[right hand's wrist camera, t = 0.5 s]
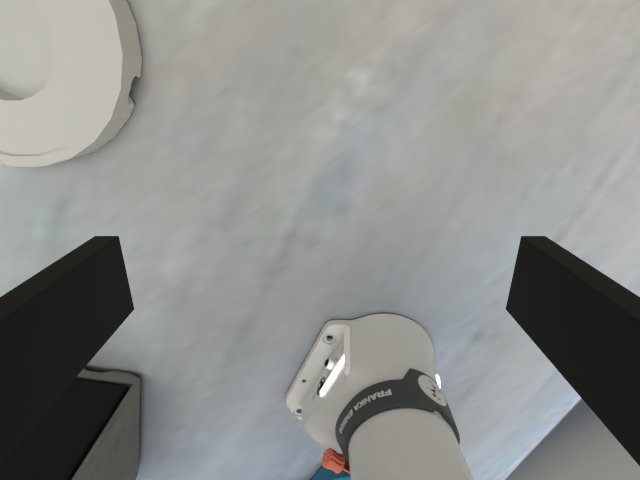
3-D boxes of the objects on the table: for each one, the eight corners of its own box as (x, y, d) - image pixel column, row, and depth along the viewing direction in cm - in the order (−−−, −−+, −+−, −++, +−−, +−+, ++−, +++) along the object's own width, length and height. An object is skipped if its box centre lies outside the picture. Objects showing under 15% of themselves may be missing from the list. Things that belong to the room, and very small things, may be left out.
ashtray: (9, 192, 43) (-20, 202, 39) (-159, -30, 35) (-217, -45, 31) (185, 107, 39) (171, 109, 36) (42, -161, 31) (5, -195, 28)
